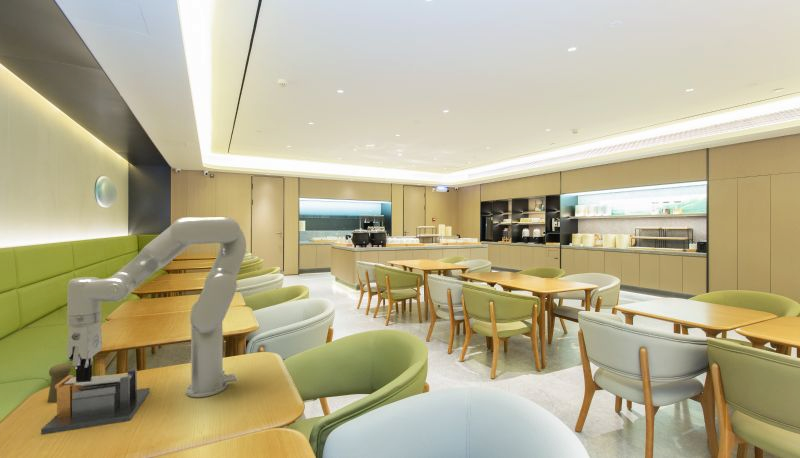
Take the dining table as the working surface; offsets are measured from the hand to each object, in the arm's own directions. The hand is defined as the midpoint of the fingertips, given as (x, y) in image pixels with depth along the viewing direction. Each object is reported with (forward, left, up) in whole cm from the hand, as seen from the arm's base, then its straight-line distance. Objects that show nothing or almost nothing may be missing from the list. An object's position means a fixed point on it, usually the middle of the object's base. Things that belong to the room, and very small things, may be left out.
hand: (83, 379), depth 106 cm
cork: (+12, -14, -11) cm, 21 cm away
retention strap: (-4, 0, -1) cm, 4 cm away
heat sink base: (-4, 0, -10) cm, 11 cm away
